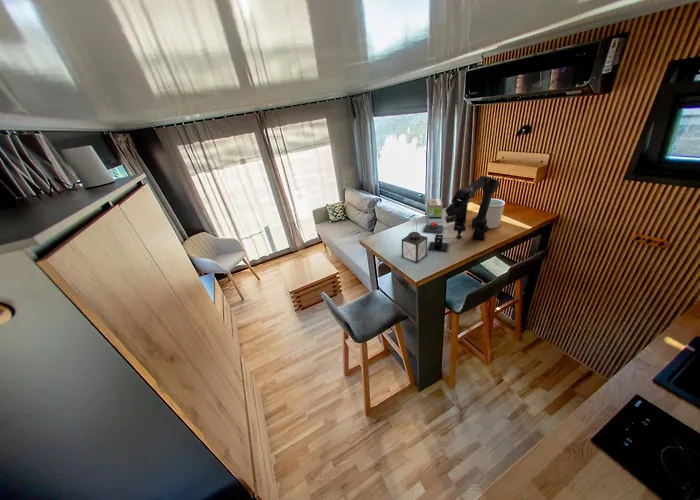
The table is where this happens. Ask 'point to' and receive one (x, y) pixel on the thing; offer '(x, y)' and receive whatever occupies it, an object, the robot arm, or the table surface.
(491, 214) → the utensil holder
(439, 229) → the button block
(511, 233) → the table surface
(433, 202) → the tea box
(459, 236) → the lever
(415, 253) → the lantern
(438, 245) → the bracket
